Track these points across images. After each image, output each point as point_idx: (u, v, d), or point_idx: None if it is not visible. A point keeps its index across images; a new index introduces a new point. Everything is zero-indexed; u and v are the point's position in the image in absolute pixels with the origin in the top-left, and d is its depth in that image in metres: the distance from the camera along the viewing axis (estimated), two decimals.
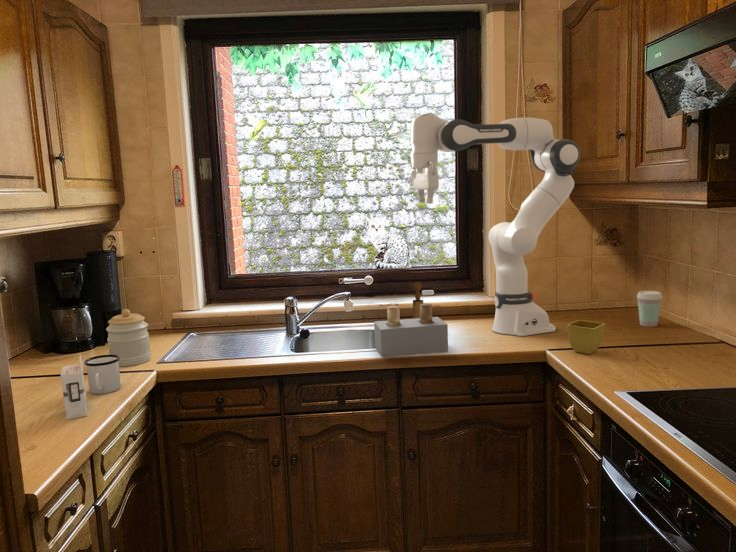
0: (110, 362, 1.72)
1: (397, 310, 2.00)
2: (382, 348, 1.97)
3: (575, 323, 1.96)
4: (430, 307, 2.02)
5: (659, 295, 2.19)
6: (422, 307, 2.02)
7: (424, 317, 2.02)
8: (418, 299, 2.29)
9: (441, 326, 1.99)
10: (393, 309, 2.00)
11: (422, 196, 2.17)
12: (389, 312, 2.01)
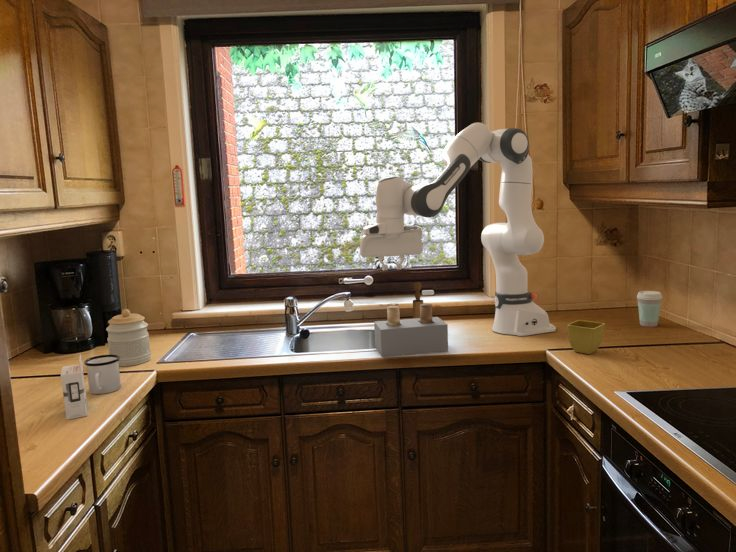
0: (110, 362, 1.72)
1: (397, 310, 2.00)
2: (382, 348, 1.97)
3: (575, 323, 1.96)
4: (430, 307, 2.02)
5: (659, 295, 2.19)
6: (422, 307, 2.02)
7: (424, 317, 2.02)
8: (418, 299, 2.29)
9: (441, 326, 1.99)
10: (393, 309, 2.00)
11: None
12: (389, 312, 2.01)
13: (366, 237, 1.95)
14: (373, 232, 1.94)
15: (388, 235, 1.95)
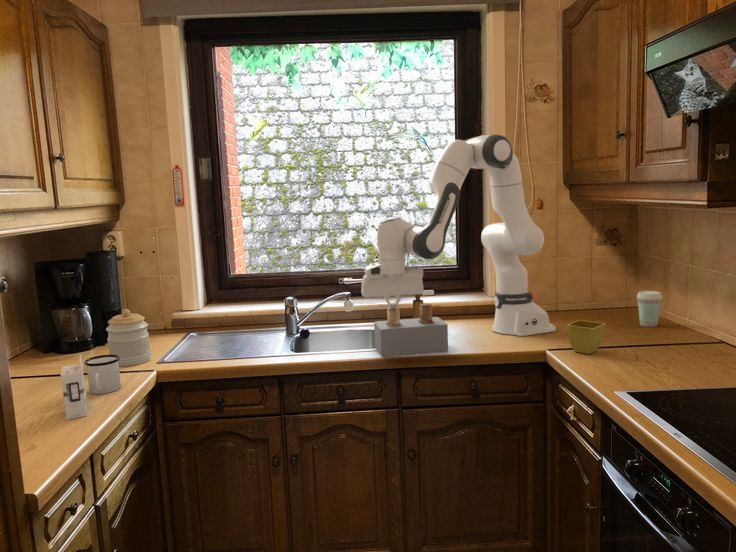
0: (110, 362, 1.72)
1: (397, 312, 2.01)
2: (382, 348, 1.97)
3: (575, 323, 1.96)
4: (430, 307, 2.02)
5: (659, 295, 2.19)
6: (422, 307, 2.02)
7: (424, 317, 2.02)
8: (418, 299, 2.29)
9: (441, 326, 1.99)
10: (393, 311, 2.00)
11: (389, 302, 2.02)
12: (389, 314, 2.01)
13: (367, 278, 1.96)
14: (374, 273, 1.96)
15: (389, 276, 1.97)
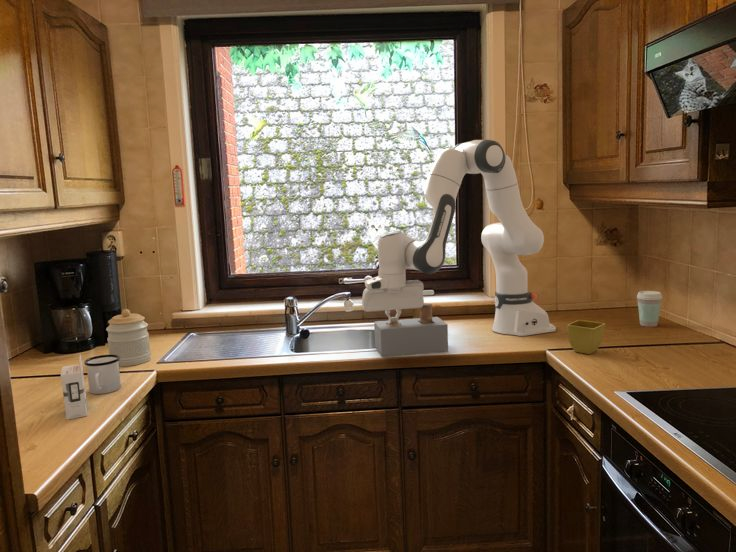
0: (110, 362, 1.72)
1: None
2: (382, 348, 1.97)
3: (575, 323, 1.96)
4: (430, 307, 2.02)
5: (659, 295, 2.19)
6: (422, 307, 2.02)
7: (424, 317, 2.02)
8: None
9: (441, 326, 1.99)
10: (394, 325, 2.01)
11: (390, 316, 2.02)
12: None
13: (368, 292, 1.97)
14: (375, 287, 1.96)
15: (390, 290, 1.98)
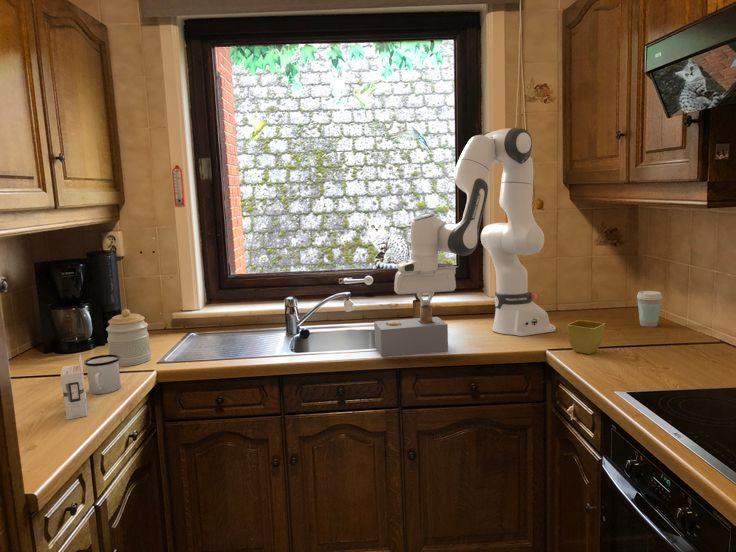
0: (110, 362, 1.72)
1: None
2: (382, 348, 1.97)
3: (575, 323, 1.96)
4: (430, 308, 2.02)
5: (659, 295, 2.19)
6: (422, 308, 2.02)
7: (424, 318, 2.02)
8: (418, 299, 2.29)
9: (441, 326, 1.99)
10: (394, 325, 2.01)
11: (422, 299, 2.03)
12: None
13: (401, 274, 1.98)
14: (408, 270, 1.97)
15: (423, 272, 1.99)
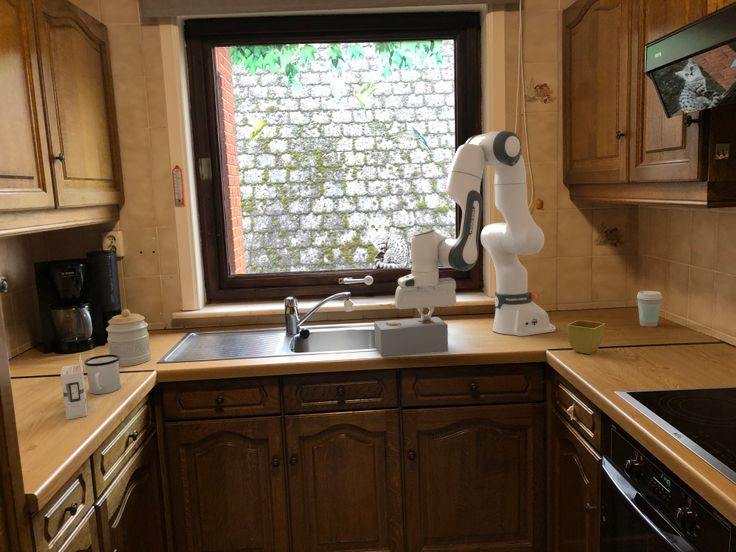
0: (110, 362, 1.72)
1: None
2: (382, 348, 1.97)
3: (575, 323, 1.96)
4: None
5: (659, 295, 2.19)
6: (422, 323, 2.03)
7: None
8: None
9: (441, 326, 1.99)
10: (394, 325, 2.01)
11: None
12: None
13: (402, 290, 1.99)
14: (409, 285, 1.98)
15: (423, 288, 1.99)
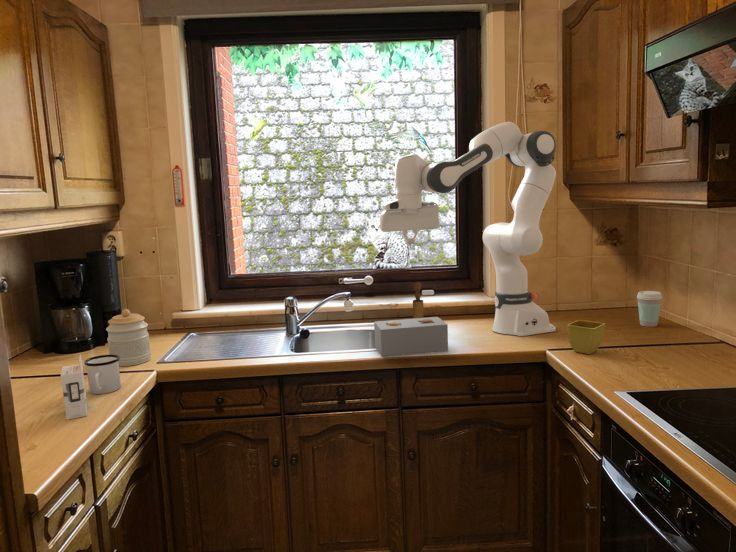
0: (110, 362, 1.72)
1: None
2: (382, 348, 1.97)
3: (575, 323, 1.96)
4: None
5: (659, 295, 2.19)
6: (422, 323, 2.03)
7: None
8: (418, 299, 2.29)
9: (441, 326, 1.99)
10: (394, 325, 2.01)
11: (407, 237, 2.11)
12: None
13: (386, 212, 2.06)
14: (393, 207, 2.05)
15: (407, 210, 2.07)
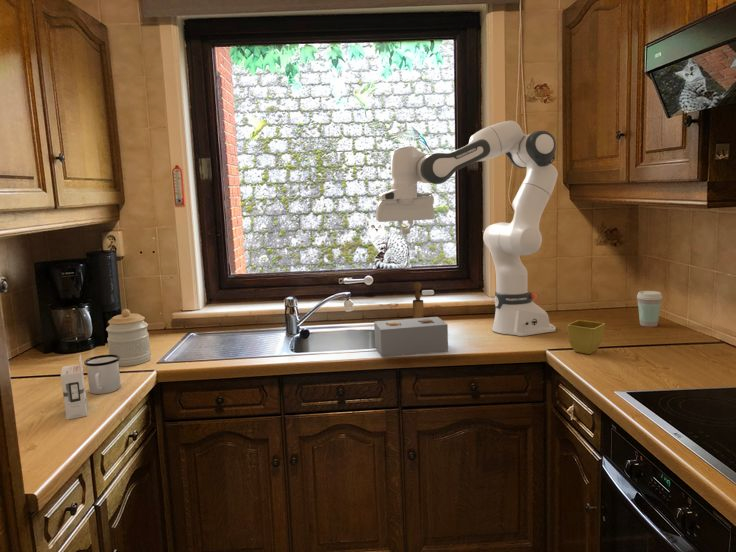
0: (110, 362, 1.72)
1: None
2: (382, 348, 1.97)
3: (575, 323, 1.96)
4: None
5: (659, 295, 2.19)
6: (422, 323, 2.03)
7: None
8: (418, 299, 2.29)
9: (441, 326, 1.99)
10: (394, 325, 2.01)
11: (402, 227, 2.15)
12: None
13: (382, 202, 2.10)
14: (389, 198, 2.09)
15: (402, 201, 2.11)
